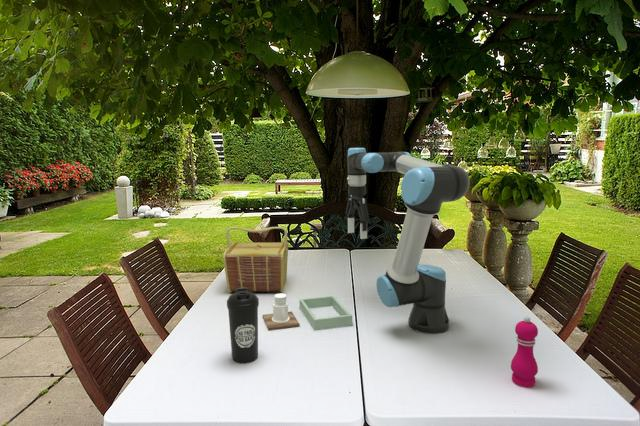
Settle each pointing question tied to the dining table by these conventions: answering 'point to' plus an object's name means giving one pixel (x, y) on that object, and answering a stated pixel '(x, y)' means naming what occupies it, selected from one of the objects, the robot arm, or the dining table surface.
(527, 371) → the pepper mill
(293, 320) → the pad
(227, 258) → the picnic basket
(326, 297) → the bin
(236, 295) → the water bottle
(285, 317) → the downlight
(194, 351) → the dining table surface
